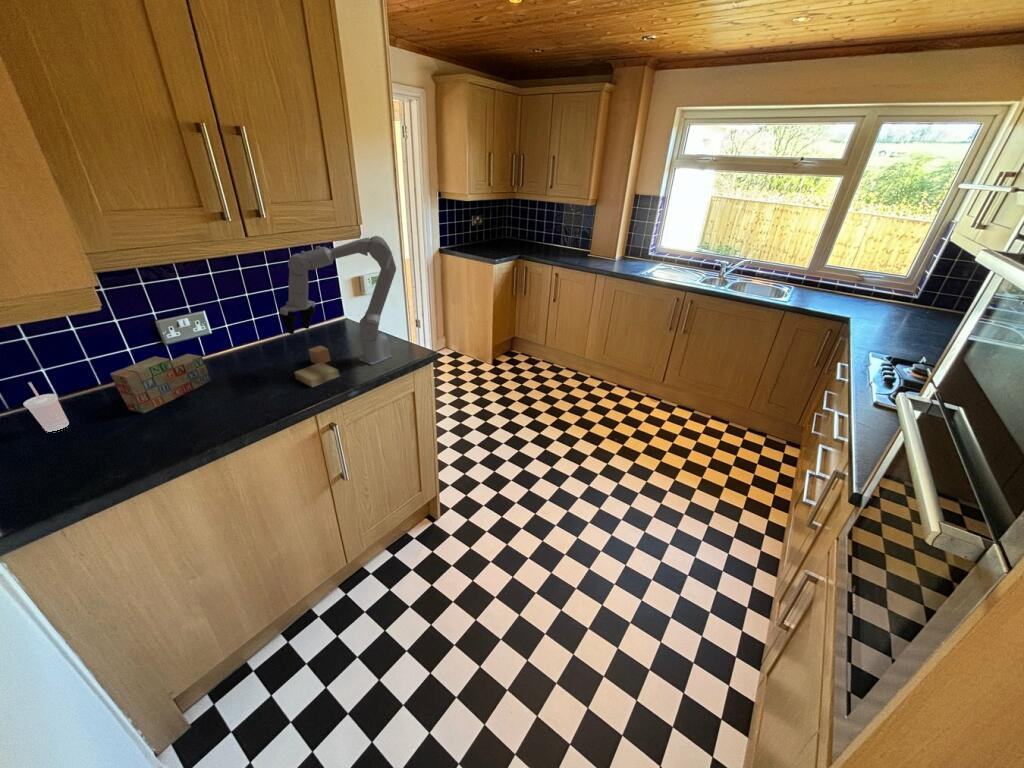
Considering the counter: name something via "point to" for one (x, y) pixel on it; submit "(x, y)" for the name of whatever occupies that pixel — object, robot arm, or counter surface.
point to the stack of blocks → (159, 380)
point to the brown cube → (319, 354)
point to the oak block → (316, 374)
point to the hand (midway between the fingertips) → (298, 330)
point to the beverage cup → (47, 411)
